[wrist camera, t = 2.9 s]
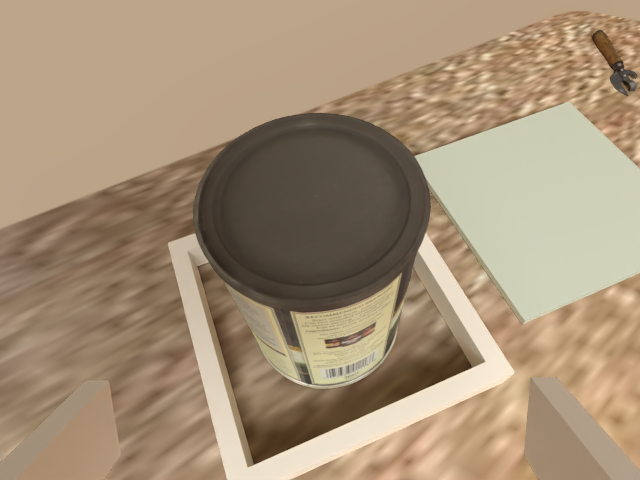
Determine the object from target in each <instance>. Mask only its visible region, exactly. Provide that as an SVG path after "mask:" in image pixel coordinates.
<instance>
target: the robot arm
mask: <svg viewBox="0 0 640 480" xmlns="http://www.w3.org/2000/svg"><path fill="white" fill-rule="evenodd" d="M120 455H121V453H120V447H119V440H118V434H117V428H116V422H115V416H114V410H113V404H112V398H111V391H110V385H109V380H99V381H84V382H83V383H82V384H81V385H80V386H79V387H78V388H77V389H76V390H75V391H74V392H73V393H72V394H71V395H70V396H69V397H68V398H67V399H66V400H65V401H64V402H63V403H62V404H61V405H60V406H59V407H58V408H56V409H55V410H54V411H53V412H52V413H51V414H50V415H49V416H48V417H47V418H46V419H45V420H44V421H43V422H42V423H41V424H40V425H39V426H38V427H37V428H36V429H35V430H34V431H33V432H32V433H31V434H30V435H29V436H28V437H27V438H25V439H24V440H23V441H22V442H21V443H20V444H19V445H18V446H17V447H16V448H15V449H14V450H13V451H12V452H11V453H10V454H9V455H8V456H7V457H6V458H5V459H4V460H3V461H2V462H1V463H0V480H104V479H105V477H106V476H107V474H108V473H109V471H110V470H111V468H112V467H113V466H114V464H115V463H116V461H117V460H118V458H119V457H120ZM524 456H525V458H526V460H527V462H528V463H529V465H530V467H531V469H532V470H533V472H534V474H535V475H536V477H537V479H538V480H640V470H639V468H638V467H637V466H636V465H635V464H634V463H633V462H632V461H631V460H630V458H629V457H628V456H627V455H626V454H625V453H624V452H623V451H622V450H621V448H620V447H619V446H618V445H617V444H616V443H615V442H614V441H613V439H612V438H611V437H610V436H609V435H608V434H607V433H606V432H605V431H604V429H603V428H602V427H601V426H600V425H599V424H598V423H597V422H596V421H595V419H594V418H593V417H592V416H591V415H590V414H589V413H588V412H587V410H586V409H585V408H584V407H583V406H582V405H581V404H580V403H579V402H578V400H577V399H576V398H575V397H574V396H573V395H572V394H571V393H570V392H569V390H568V389H567V388H566V387H565V386H564V385H563V384H562V383H561V382H560V380H559V379H558V378H557V377H531V379H530V390H529V402H528V413H527V425H526V436H525V448H524Z"/></svg>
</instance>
